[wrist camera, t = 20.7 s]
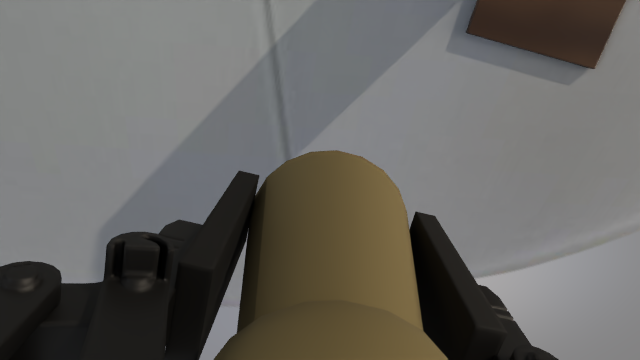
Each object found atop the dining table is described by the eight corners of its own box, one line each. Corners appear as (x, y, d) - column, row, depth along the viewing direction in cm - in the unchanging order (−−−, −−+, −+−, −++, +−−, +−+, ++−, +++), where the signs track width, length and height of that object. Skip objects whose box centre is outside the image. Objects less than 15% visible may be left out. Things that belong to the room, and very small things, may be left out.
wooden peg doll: (434, 252, 16) (633, 636, 6) (301, 317, 17) (263, 744, 7) (359, 119, 15) (445, 313, 4) (218, 200, 16) (-1, 520, 5)
